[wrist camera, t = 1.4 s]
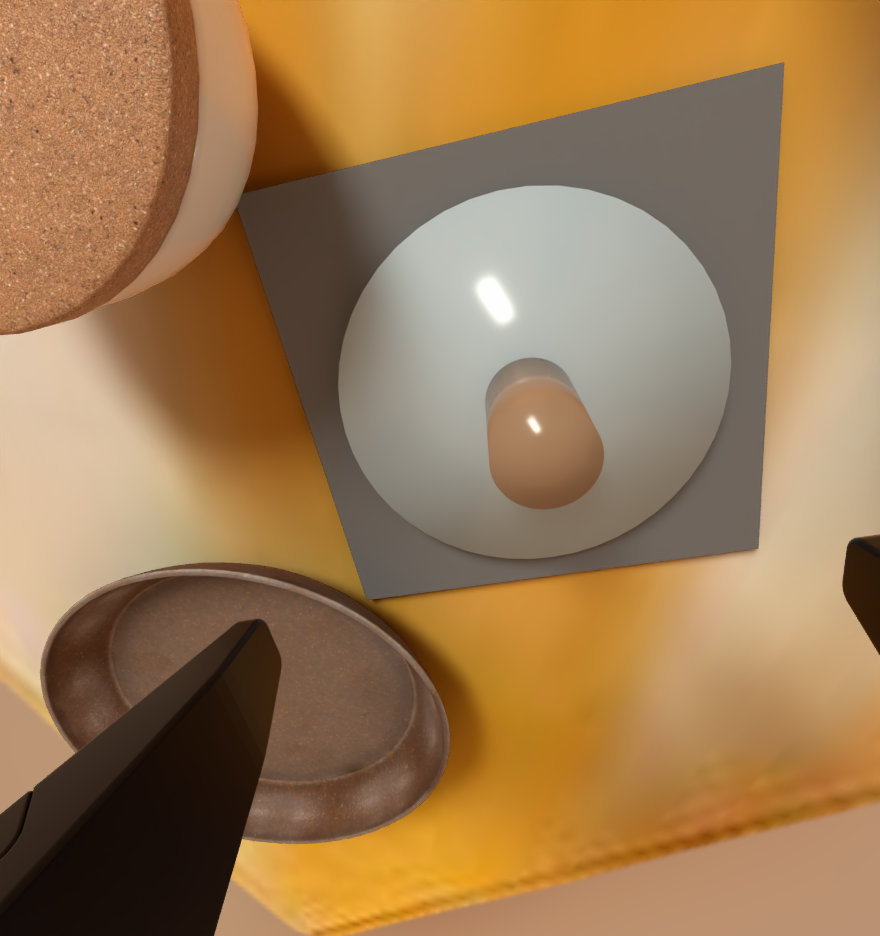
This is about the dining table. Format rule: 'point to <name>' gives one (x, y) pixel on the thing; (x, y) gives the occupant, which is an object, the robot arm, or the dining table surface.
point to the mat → (542, 164)
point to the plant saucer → (298, 697)
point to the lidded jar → (116, 147)
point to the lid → (534, 372)
